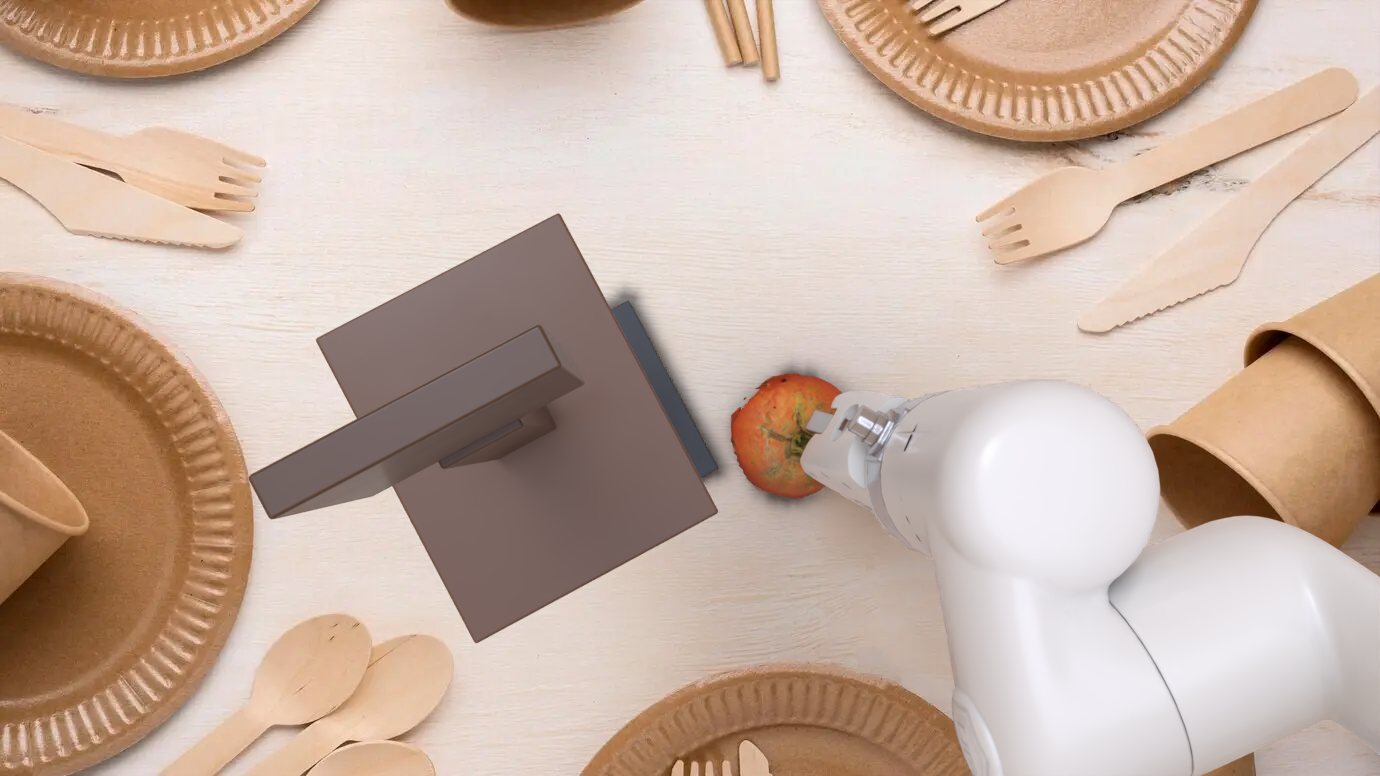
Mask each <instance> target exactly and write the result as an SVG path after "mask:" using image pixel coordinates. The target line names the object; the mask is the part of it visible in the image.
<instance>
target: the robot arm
mask: <svg viewBox="0 0 1380 776" xmlns="http://www.w3.org/2000/svg"><path fill="white" fill-rule="evenodd" d="M831 409H833V410H836V412H835V414H834V415H832V414H828V413H824V412H821V411H817V410H814V412H813V413H812V415H811V417H810V419H809V421H808V422H807V424H806V426H805V428H804V429H805V430H806V431H808V432H810V433H811V434H813V435H814V436H813V437H812V438H811V439H810V440H809V442H808V443H807V445H806V447H805V449H804V452H803V454H802V456H801V459H800V463H801V466H802V468H803V470H804V472H805V473H806V474H808V475H809V476H811V477H812V478H814V479H815V480H817V481H819V482H820V483H822V484H824V485H825V487H827V488H828V489H831V490H832V491H833V492H836V493H837V494H839V495H840V496H842V497H844V498H846V499H848V500H850V501H851V502H853V503H855V504H856V505H858V506H860V507H861V508H864V509H866V510H867V511H869V512H871V513H873V514H874V516H875V517H876V520H877V521H878V523H879V524H880V525H881V527H882V528H883V529H884V530H885V531H886V533H888V534H889V535H890V536H891V537H892V538H893V539H895V540H896V541H897V542H898V543H899V544H901V545H902V546H904V547H906V548H907V549H909V550H911V551H913V552H916V553H918V554H920V555H922V556H924V557H927V558H929V559H931V561H932V566H933V569H934V574H935V580H936V586H937V591H938V596H939V602H940V606H941V612H942V618H943V622H944V628H945V635H946V641H947V647H948V654H949V659H950V665H951V672H952V679H953V684H954V689H953V691H952V695H951V713H952V719H953V725H954V729H955V734H956V737H957V740H958V744H959V746H960V749H961V752H962V755H963V757H964V760H965V762H966V763H967V766H968V769H969V771H970V773H971V775H972V776H1203V775H1205V774H1208V773H1210V772H1212V771H1214V770H1216V769H1219V768H1221V767H1224V766H1226V765H1228V764H1230V763H1232V762H1234V761H1237V760H1239V759H1241V758H1243V757H1245V756H1248V755H1250V754H1252V753H1254V752H1256V751H1258V750H1260V749H1263V748H1265V747H1268V746H1270V745H1271V744H1274V743H1277V742H1279V741H1282V740H1284V739H1286V738H1287V737H1291V736H1293V735H1296V734H1298V733H1301V732H1302V731H1304V730H1307V729H1309V728H1311V727H1313V726H1315V725H1318V724H1319V723H1321V722H1323V721H1331V722H1333V723H1336V724H1338V725H1339V726H1341V727H1343V728H1344V729H1345V730H1347V731H1348V732H1349V733H1351V734H1352V735H1353V736H1355V737H1356V738H1357V739H1359V740H1360V741H1361V742H1362V743H1363V744H1364V745H1366V747H1368V748H1369V749H1371V750H1372V751H1373V752H1374V753H1376V754H1377V756H1379V757H1380V576H1379V575H1378V574H1376V573H1375V572H1373V571H1371V570H1370V569H1369V568H1367V567H1366V566H1364V565H1362V564H1361V563H1359V562H1358V561H1356V560H1355V559H1354V558H1352V557H1351V556H1349V555H1347V553H1346V554H1345V552H1342V551H1341V550H1340V549H1339V548H1336V547H1335V546H1334V545H1332V544H1330V543H1328V542H1327V541H1325V540H1323V539H1322V538H1320V537H1318V536H1316V535H1314V534H1313V533H1311V532H1309V531H1306V530H1304V529H1302V528H1300V527H1297V526H1295V525H1292V524H1289V523H1287V522H1283V521H1280V520H1276V519H1273V518H1270V517H1264V516H1258V515H1235V516H1230V517H1224V518H1219V519H1214V520H1211V521H1206V522H1205V523H1203V524H1200V525H1197V526H1194V527H1192V528H1189V529H1187V530H1185V531H1182V532H1180V533H1176V534H1175V535H1173V536H1169V537H1167V538H1165V539H1163V540H1160V541H1158V542H1156V543H1153V544H1151V545H1148V546H1147V544H1148V543H1149V542H1150V538H1151V536H1152V534H1153V532H1154V531H1153V530H1154V529H1155V527H1156V524H1157V519H1158V515H1159V511H1160V500H1161V499H1160V498H1161V483H1160V482H1161V481H1160V475H1159V474H1160V473H1159V467H1158V465H1157V461H1156V457H1155V455H1154V452H1153V450H1152V447H1151V446H1150V443H1149V442H1148V439H1147V437H1146V435H1145V434H1144V432H1143V431H1142V429H1141V428H1140V427H1139V425H1138V424H1137V423H1136V421H1135V420H1134V419H1133V417H1132V416H1131V415H1130V414H1129V413H1127V411H1126V410H1124V408H1122V407H1121V406H1120V405H1119V404H1118V403H1117V402H1115V401H1113V400H1111V399H1110V398H1109V397H1108V396H1106V395H1104V394H1103V393H1101V392H1100V391H1098V390H1095V389H1093V388H1091V387H1088V386H1086V385H1083V384H1080V383H1077V382H1074V381H1070V380H1063V379H1057V378H1056V379H1055V378H1029V379H1020V380H1019V379H1018V380H1013V381H1007V382H1000V383H999V382H998V383H994V384H986V385H980V386H978V385H977V386H971V387H964V388H957V389H952V390H951V389H950V390H944V391H936V392H930V393H925V394H922V395H919V396H916V397H913V398H911V399H909V398H905V397H901V396H897V395H896V394H895V395H894V394H888V393H884V392H883V393H882V392H877V391H870V390H849V391H844V392H842V394H840V395H838V396H836V397H835V398H834V400H833V402H832V404H831Z"/></svg>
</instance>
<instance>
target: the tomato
mask: <svg viewBox="0 0 1380 776" xmlns="http://www.w3.org/2000/svg"><path fill="white" fill-rule="evenodd" d="M755 390H757V391H756V392H755V393H754V394H753V395H752V396H751V397H750V398H749V399H748V400H747V396H745V397H743V401H745V400H747V401H746V403H745V405H744V406H743V407H742V406H740V407H738V408H737V409H736V410H735V411H734V412H733V413H732V414H731V415H730V435H731V436H730V443H731V445H732V448H733V449H734V452H733V453H734V455H735V456H736V461H737V463H738V467H739V468H740V469H741V470H742V473H743V475H744V476H745V478H746V480H748V481H749V483H751V484H752V485H753V486H754V487H755V488H757V489H759V490H760V491H762V492H765V493H767V494H768V493H769V494H771V495H774V496H778V497H782V498H788V499H801V498H802V499H803V498H807V497H809V496H811V495H814V494H816V493H818V492H820V491H821V490H822V489H823V488H825V487H826V486H825V485H824V484H822V483H820V482H819V481H817V480H815V479H814V478H812V477H811V476H809V475H808V474H806V473H805V472H804V470H803V468H802V466H801V463H800V459H801V456H802V454H803V452H804V449H805V447H806V445H807V443H808V442H809V440H810V439H811V438H812V437H813V436H814V435H813V434H811V433H810V432H808V431H806V430H805V429H804V428H805V426H806V424H807V422H808V421H809V419H810V417H811V415H812V413H813V412H814V410H817V411H821V412H824V413H828V414H832V415H834V414H835V412H836V410H833V409H831V404H832V402H833V400H834V398H835V397H836V396H838V395H840V394H842V393H843V392H842V391H841V390H840V389H839V388H837V387H836V386H835V385H834V384H833V383H830V382H828V381H827V380H825V379H822V378H820V377H817V376H814V375H808V374H807V375H806V374H800V373H798V372H793V373H792V372H791V373H782V374H779V375H773V376H771V377H769V378H767V379H766V380H764V381H763V382H762V383H761V384H760V385H759V386H757V387H755Z"/></svg>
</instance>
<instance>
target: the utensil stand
mask: <svg viewBox="0 0 1380 776" xmlns="http://www.w3.org/2000/svg"><path fill="white" fill-rule="evenodd" d="M315 342H316V344H317V346H318V348H319V350H320V351H321V354H322V356H323V357H324V359H325V362H326V363H327V365H328V367H329V369H330V371H331V372H332V374H333V377H334V378H335V380H336V382H337V384H338V386H339V388H340V390H341V392H342V393H343V395H344V397H345V399H346V401H347V403H348V406H349V407H350V409H351V410H352V412H353V414H354V416H355V418H356V419H353V420H352V421H350V422H348V423H345V424H344V425H341V426H340V427H338V428H337V429H334V430H333V431H331V432H329V433H327V434H325V435H323V436H321V437H319V438H317V439H315V440H314V441H312V442H310V443H308V444H306V445H304V446H302V447H301V448H298V449H297V450H295V451H293V452H291V453H289V454H287V455H285V456H283V457H281V458H279V459H277V460H275V461H274V462H272V463H270V464H268V465H266V466H263V467H262V468H260V469H258V470H256V471H255V472H253V473H251V474H250V475H249V476H248V481H249V483H250V485H251V487H252V489H253V490H254V492H255V495H256V496H257V498H258V500H259V502H260V504H261V505H262V508H263V510H264V512H265V514H266V516H267V517H268V519H270V520H277V519H281V518H285V517H286V518H287V517H290V516H294V515H298V514H304V513H306V512H311V511H315V510H320V509H326V508H329V507H332V506H338V505H341V504H346V503H349V502H350V503H351V502H355V501H359V500H364V499H369V498H372V497H375V496H376V495H378V494H380V493H382V492H384V491H386V490H388V489H390V488H391V487H392V489H393V490H394V492H395V495H396V496H397V498H398V500H399V502H400V504H401V506H402V507H403V509H404V511H405V513H406V515H407V517H408V519H409V521H410V523H411V525H412V527H413V528H414V530H415V532H416V534H417V536H418V538H419V540H420V542H421V544H422V546H423V548H424V550H425V551H426V553H427V555H428V557H429V559H430V561H431V563H432V565H433V567H434V568H435V570H436V572H437V574H438V576H439V578H440V580H441V582H442V583H443V585H444V588H445V590H446V591H447V593H448V595H449V597H450V599H451V601H452V603H453V604H454V606H455V609H456V611H457V612H458V614H459V616H460V618H461V620H462V622H463V624H464V625H465V627H466V629H467V631H468V633H469V635H470V637H471V639H472V641H473V642H474V643H475V644H479V643H480V642H483V641H485V640H487V639H488V638H490V637H492V636H494V635H495V634H497V633H499V632H500V631H503V630H505V629H507V628H508V627H510V626H512V625H514V624H516V623H517V622H520V621H521V620H523V619H525V618H527V617H529V616H531V615H532V614H534V613H536V612H539V611H540V610H541V609H544V608H545V607H547V606H549V605H551V604H553V603H554V602H557V601H558V600H560V599H562V598H564V597H566V596H567V595H569V594H572V593H573V592H575V591H577V590H579V589H581V588H583V587H584V586H586V585H588V584H590V583H592V582H593V581H595V580H597V579H599V578H601V577H602V576H605V575H606V574H608V573H610V572H612V571H614V570H616V569H618V568H619V567H622V566H624V565H625V564H627V563H630V562H631V561H632V560H634V559H636V558H638V557H640V556H641V555H644V554H645V553H647V552H649V551H651V550H653V549H655V548H657V547H658V546H661V545H662V544H664V543H665V542H667V541H670V540H671V539H673V538H675V537H677V536H679V535H681V534H682V533H684V532H687V531H688V530H690V529H692V528H694V527H695V526H697V525H699V524H701V523H703V522H704V521H706V520H708V519H710V518H712V517H714V516H716V515H717V514H718V513H719V510H718V507H717V506H716V503H715V502H714V500H713V498H712V497H711V494H710V492H709V491H708V489H707V486H706V484H705V483H704V481H703V478H704V477H706V476H708V475H710V474H712V473H713V472H715V471H717V470H718V469H719V467H718V465H717V463H716V461H715V459H714V457H713V455H712V454H711V452H710V450H709V448H708V446H707V444H706V443H705V441H704V438H703V437H702V434H701V433H700V431H699V429H698V427H697V426H696V423H695V421H694V419H693V418H692V416H691V414H690V412H689V411H688V408H687V407H686V405H685V403H684V401H683V400H682V397H681V395H680V394H679V392H678V390H677V388H676V386H675V385H674V381H672V379H671V377H670V375H669V373H668V371H667V369H666V367H665V366H664V365H665V364H664V363H663V362H662V359H661V358H660V356H659V354H658V352H657V350H656V348H655V347H654V344H653V343H652V341H651V339H650V337H649V336H648V333H647V331H646V330H645V328H644V326H643V324H642V322H641V320H640V318H639V316H638V315H637V313H636V311H635V309H634V307H633V306H632V303H631V302H630V300H626V301H624V302H622V303H620V304H618V305H617V306H614V307H613V308H611V306H610V304H609V303H608V300H607V299H606V297H605V295H604V293H603V292H602V290H601V288H600V286H599V284H598V282H597V280H596V278H595V276H594V274H593V273H592V270H591V268H590V267H589V265H588V264H587V262H586V260H585V258H584V256H583V254H582V252H581V250H580V248H579V246H578V244H577V242H576V241H575V239H574V237H573V235H572V233H571V231H570V229H569V228H568V226H567V223H566V222H565V220H564V218H563V216H562V214H560V213H559V212H558V213H555V214H553V215H551V216H549V217H548V218H545V219H544V220H542V221H540V222H538V223H536V224H534V225H532V226H529V227H528V228H526V229H525V230H522V231H520V232H519V233H517V234H515V235H513V236H511V237H509V238H507V239H504V240H503V241H501V242H499V243H498V244H495V245H493V246H491V247H490V248H488V249H486V250H483V251H482V252H480V253H478V254H476V255H474V256H473V257H470V258H468V259H467V260H466V259H465V260H464V261H463V262H460V263H459V264H457V265H455V266H452V267H451V268H449V269H447V270H445V271H443V272H441V273H440V274H438V275H436V276H434V277H432V278H429V279H428V280H426V281H424V282H421V283H420V284H418V285H416V286H414V287H412V288H411V289H409V290H406V291H404V292H403V293H401V294H399V295H397V296H395V297H392V298H391V299H390V300H388V301H386V302H384V303H382V304H380V305H377V306H376V307H374V308H372V309H369V310H368V311H366V312H363V313H362V314H359V316H356V317H355V318H353V319H351V320H348V321H347V322H345V323H342V324H341V325H339V326H336V327H335V328H333V329H331V330H330V331H328V332H325V333H324V334H322V335H319V336H318V337H316V339H315Z"/></svg>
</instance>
